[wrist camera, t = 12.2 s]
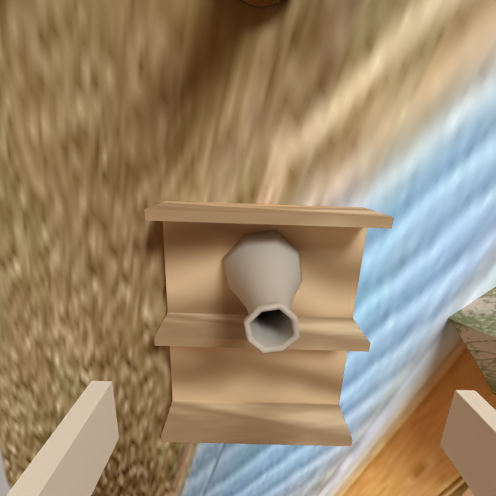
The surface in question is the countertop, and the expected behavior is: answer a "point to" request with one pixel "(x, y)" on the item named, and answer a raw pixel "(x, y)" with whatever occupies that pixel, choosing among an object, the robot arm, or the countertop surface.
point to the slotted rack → (233, 313)
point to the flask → (266, 288)
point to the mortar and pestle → (261, 2)
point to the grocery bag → (480, 333)
